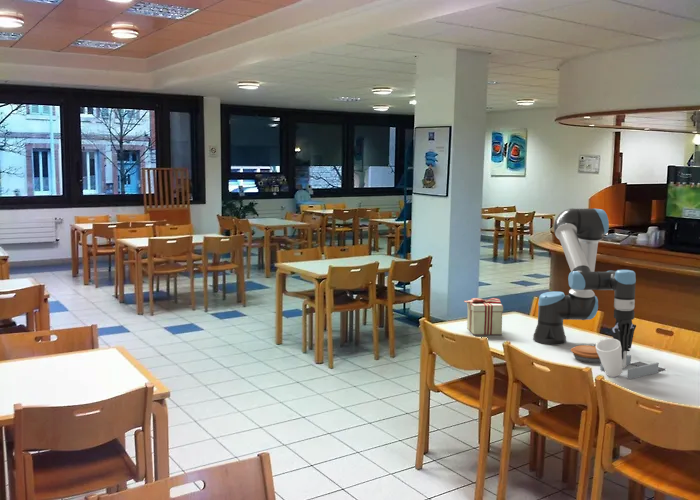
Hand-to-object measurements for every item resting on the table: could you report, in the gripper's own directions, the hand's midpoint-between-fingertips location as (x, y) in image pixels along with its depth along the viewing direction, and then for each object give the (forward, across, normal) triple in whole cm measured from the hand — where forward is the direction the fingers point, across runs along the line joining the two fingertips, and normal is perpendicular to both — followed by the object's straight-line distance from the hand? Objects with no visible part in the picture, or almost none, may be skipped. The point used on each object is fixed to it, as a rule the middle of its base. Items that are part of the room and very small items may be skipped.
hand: (622, 366), depth 262 cm
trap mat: (+3, +17, 0) cm, 18 cm away
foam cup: (+2, -5, 0) cm, 5 cm away
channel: (+3, +5, +1) cm, 6 cm away
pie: (+3, +6, +21) cm, 22 cm away
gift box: (+2, -1, +81) cm, 81 cm away
